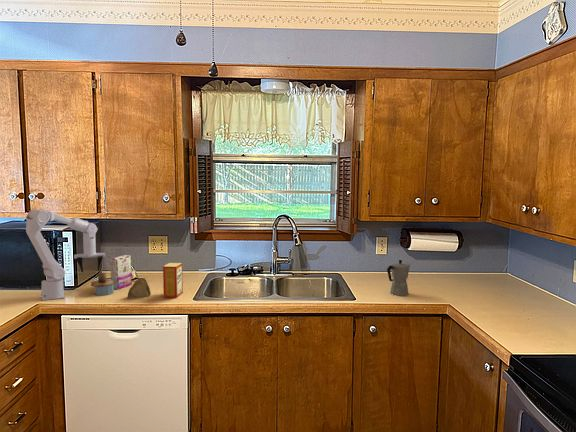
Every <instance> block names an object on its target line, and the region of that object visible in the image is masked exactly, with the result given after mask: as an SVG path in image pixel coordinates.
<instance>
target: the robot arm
mask: <svg viewBox="0 0 576 432" xmlns="http://www.w3.org/2000/svg"><path fill="white" fill-rule="evenodd" d="M25 220H26V224H25V225H26V226H25V232H26V234H27V236H28V238H29V240H30V242H31V244H32V246H33V247H34V249H35V251H36V253H37V256H38V257H39V258H40V261H41V262H42V268H43V274H44V276H45V277H46V280H41V293H40V294H41V301H48V300H58V299H59V300H60V299H64V298H65V296H66V294H65V293H64V277H65V275H66V270H65V268H63V267H62V266H61V265H60V263H59V262H58V261H57V260H56V259H55V258H54V256H53V254H52V251H51V250H50V248H49V245H48V243H47V242H46V240H45V238H44V236H43V234H42V233H41V231H42V229H43V227H44V226H45V225H46V224H47V223H48V222H53V221H55V222H58V223H62V224H65V225H67V226H68V228H70V229H72V230H75V231H78V232H81V233H82V235H83V236H82V240H83V243H82V244H83V245H82V246H83V253H79V254H78V253H77V254H76V253H75V254H74V255H73V258H74V260H75V259H76V262H77V264H78V265H79V267H80V271H81V273H83V272H84V267H83V266H84V265H83V259H85V258H86V259H87V258H89V259H90V258H97V271H98V272H100V267H101V264H102V261H103V259H104V258H105V257H106V252H97V251H96V249H97V247H96V245H97V244H96V233H97V231H98V229H99V227H97V225H96V224H95V223H93V222H89V221H88V220H83V219H81V218H80V217H78V216H75V217H74V216H73V217H70V218H69V217H66V216H65V215H62V214H59V213H56V212H52V211H48V210H44V209H41V210H40V209H36V208H34V209H31V210H29V211H28V213H27V215H26V216H25Z"/></svg>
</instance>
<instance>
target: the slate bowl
mask: <svg viewBox="0 0 576 432" xmlns="http://www.w3.org/2000/svg"><path fill="white" fill-rule="evenodd" d="M114 290H115V289H114V284H113V285H110V286H106V287H94V294H95V296H100V297H101V296H103V297H104V296H109V295H113V294H114Z"/></svg>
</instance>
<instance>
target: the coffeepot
mask: <svg viewBox="0 0 576 432" xmlns="http://www.w3.org/2000/svg"><path fill="white" fill-rule="evenodd" d="M402 262H403V260H401V259H399V260H398V263H393V264H391V265H389V266H388V267H387V268H386V272H387V276H388V280H389V282H392V283H391V287H390V290H389V291H390V292H389V293H390V294H391V295H392V294H393V296H395V295H396V297H407V296H409V288H408V282H407V280H408V278H409V271H410V267H411V264H410V265H409V264H407V263H402Z"/></svg>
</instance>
